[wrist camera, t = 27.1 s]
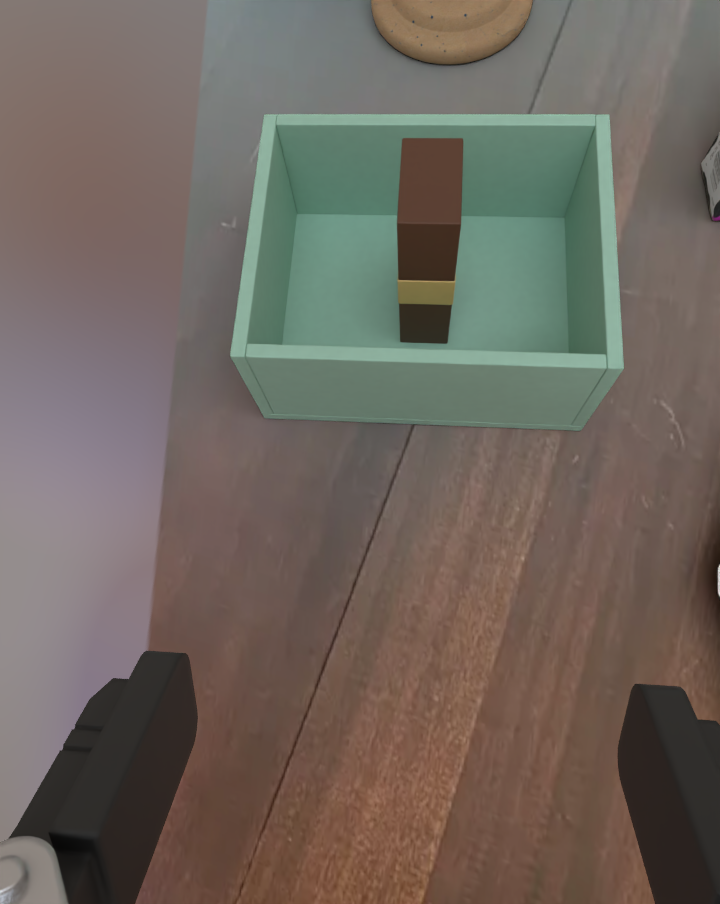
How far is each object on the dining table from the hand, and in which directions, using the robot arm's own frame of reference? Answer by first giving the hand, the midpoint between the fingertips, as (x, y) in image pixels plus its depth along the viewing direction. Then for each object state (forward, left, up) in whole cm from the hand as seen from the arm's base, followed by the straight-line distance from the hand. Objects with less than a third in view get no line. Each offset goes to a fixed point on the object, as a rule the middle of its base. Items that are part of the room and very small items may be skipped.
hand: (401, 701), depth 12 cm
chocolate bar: (0, +23, -26) cm, 35 cm away
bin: (0, +23, -26) cm, 35 cm away
